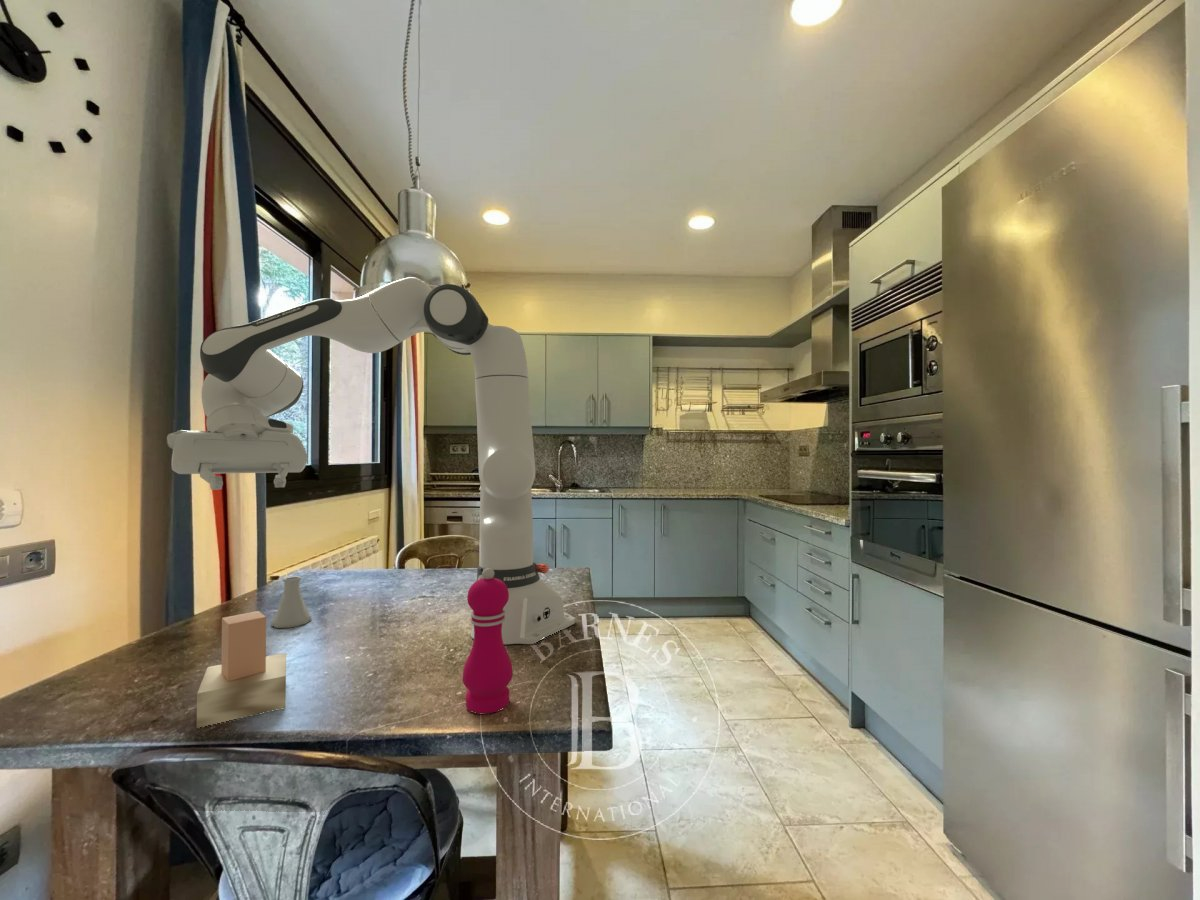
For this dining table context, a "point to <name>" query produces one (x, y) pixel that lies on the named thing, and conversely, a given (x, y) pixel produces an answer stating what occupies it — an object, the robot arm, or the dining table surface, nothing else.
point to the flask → (291, 606)
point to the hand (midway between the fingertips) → (250, 486)
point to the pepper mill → (487, 647)
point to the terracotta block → (243, 645)
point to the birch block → (241, 693)
